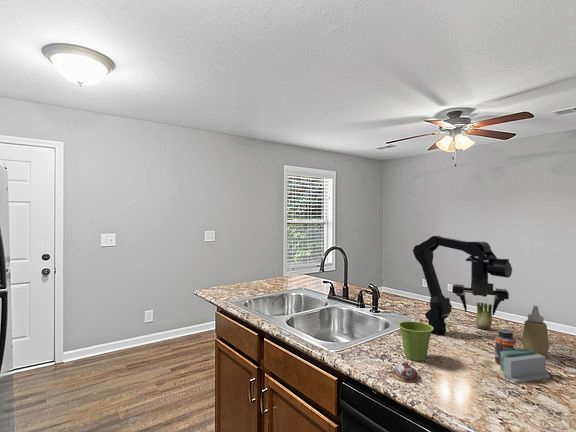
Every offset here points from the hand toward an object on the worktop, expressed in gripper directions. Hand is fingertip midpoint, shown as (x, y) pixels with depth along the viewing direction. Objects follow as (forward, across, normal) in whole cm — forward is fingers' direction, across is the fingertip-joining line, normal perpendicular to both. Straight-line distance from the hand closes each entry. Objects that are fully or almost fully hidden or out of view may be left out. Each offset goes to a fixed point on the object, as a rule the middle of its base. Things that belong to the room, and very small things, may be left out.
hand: (479, 313), depth 127 cm
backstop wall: (+13, +12, -20) cm, 27 cm away
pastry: (+14, -20, -41) cm, 48 cm away
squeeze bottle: (+13, +18, +2) cm, 22 cm away
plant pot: (+13, -20, -24) cm, 34 cm away
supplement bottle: (+12, +8, -16) cm, 21 cm away
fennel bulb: (+13, +2, +25) cm, 28 cm away
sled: (+13, +8, -16) cm, 22 cm away
